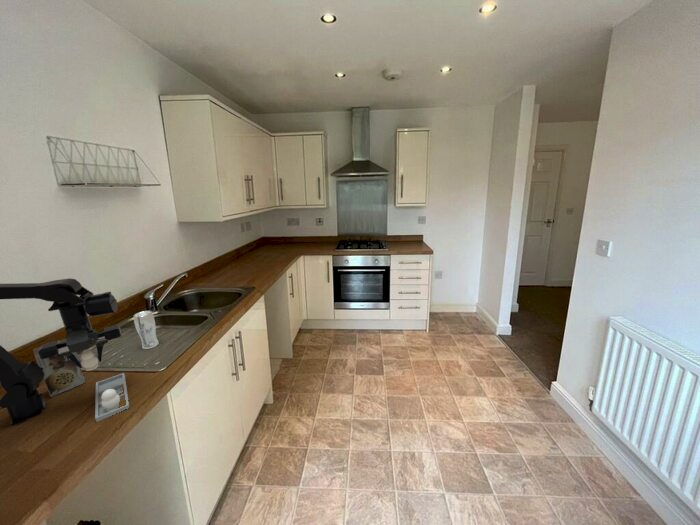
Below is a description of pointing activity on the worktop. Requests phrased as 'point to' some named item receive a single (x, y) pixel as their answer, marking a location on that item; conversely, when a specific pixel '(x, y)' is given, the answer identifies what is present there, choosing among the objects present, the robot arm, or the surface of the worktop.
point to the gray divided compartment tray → (110, 383)
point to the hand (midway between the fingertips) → (91, 364)
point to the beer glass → (146, 329)
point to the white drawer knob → (110, 400)
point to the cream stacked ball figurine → (89, 360)
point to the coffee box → (59, 372)
